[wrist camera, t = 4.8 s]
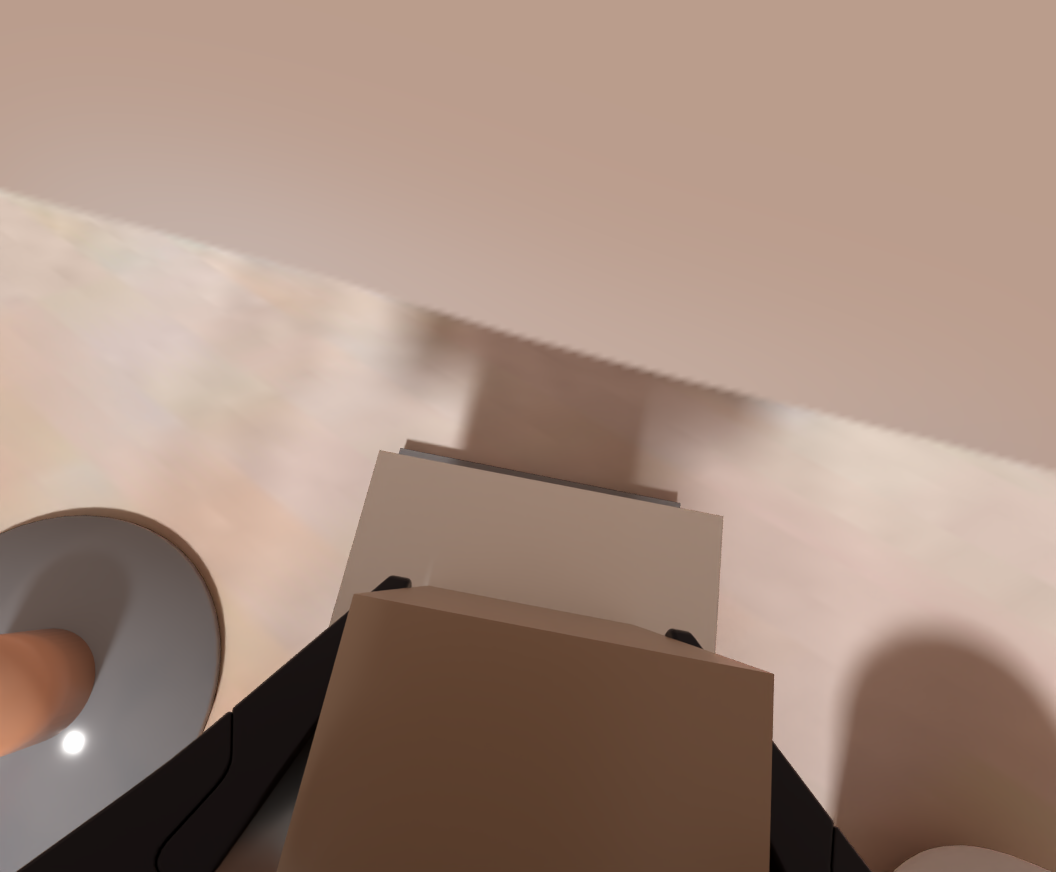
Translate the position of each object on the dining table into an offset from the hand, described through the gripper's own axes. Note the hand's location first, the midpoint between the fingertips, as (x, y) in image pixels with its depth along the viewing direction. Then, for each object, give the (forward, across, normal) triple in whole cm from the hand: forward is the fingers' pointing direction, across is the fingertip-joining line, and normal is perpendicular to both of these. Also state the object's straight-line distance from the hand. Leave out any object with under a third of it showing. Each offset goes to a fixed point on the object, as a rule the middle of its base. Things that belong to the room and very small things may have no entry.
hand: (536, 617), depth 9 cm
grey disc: (+5, +19, +14) cm, 24 cm away
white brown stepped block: (+5, 0, +7) cm, 8 cm away
